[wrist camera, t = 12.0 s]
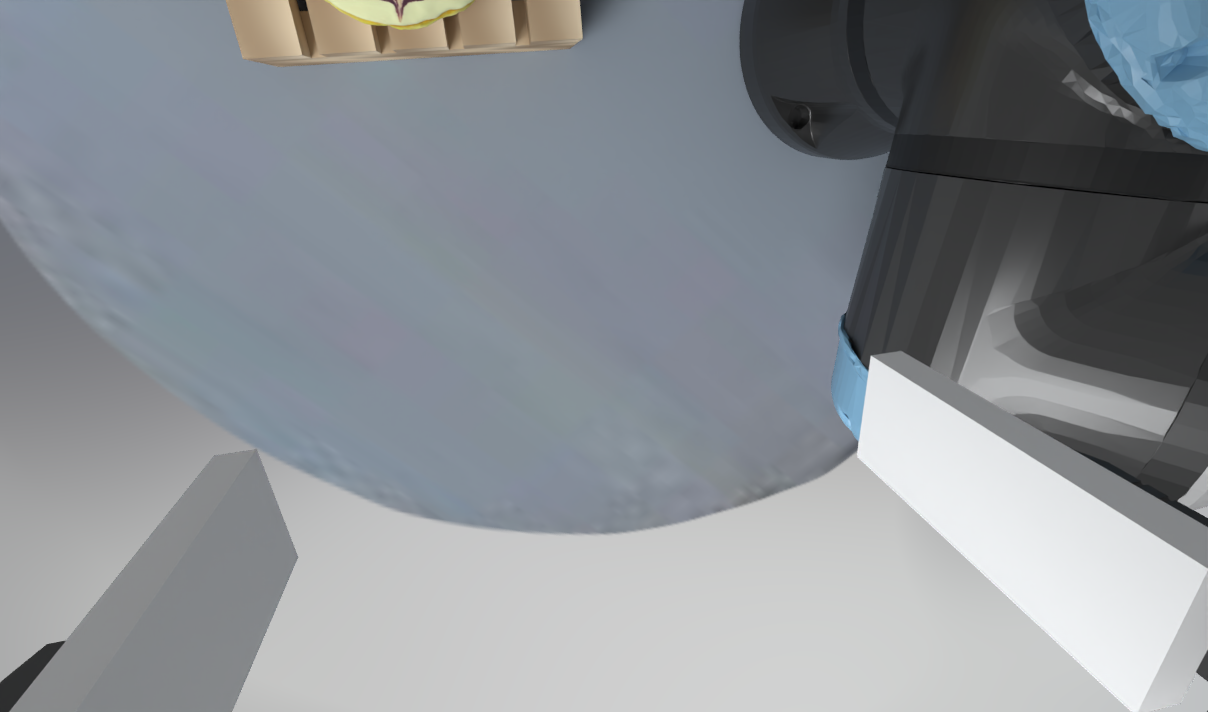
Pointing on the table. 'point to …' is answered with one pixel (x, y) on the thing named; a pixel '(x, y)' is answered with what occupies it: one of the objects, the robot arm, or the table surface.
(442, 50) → the pallet
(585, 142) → the table surface
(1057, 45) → the robot arm
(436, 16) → the decorated donut
